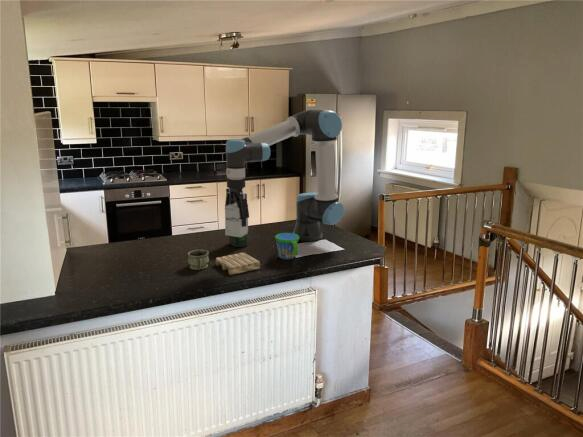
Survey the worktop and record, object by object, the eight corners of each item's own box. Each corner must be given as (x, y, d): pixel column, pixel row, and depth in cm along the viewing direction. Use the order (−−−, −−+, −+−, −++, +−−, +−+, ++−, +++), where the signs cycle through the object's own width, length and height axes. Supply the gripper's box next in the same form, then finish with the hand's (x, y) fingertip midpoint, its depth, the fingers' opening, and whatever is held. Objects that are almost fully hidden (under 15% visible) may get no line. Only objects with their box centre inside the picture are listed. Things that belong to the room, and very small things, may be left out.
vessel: (211, 270, 195) (211, 256, 193) (190, 272, 192) (190, 258, 190) (206, 260, 205) (205, 247, 204) (186, 263, 202) (185, 249, 201)
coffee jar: (250, 245, 226) (249, 208, 221) (235, 248, 221) (235, 211, 216) (240, 240, 233) (240, 204, 228) (226, 243, 229) (225, 206, 224)
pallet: (244, 258, 208) (244, 252, 207) (260, 268, 197) (260, 261, 196) (215, 264, 201) (215, 258, 200) (230, 274, 189) (230, 268, 189)
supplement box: (224, 235, 193) (224, 206, 190) (233, 231, 200) (232, 202, 196) (240, 237, 190) (240, 208, 187) (248, 233, 197) (248, 204, 194)
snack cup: (305, 261, 206) (305, 239, 203) (283, 264, 201) (283, 242, 199) (290, 250, 219) (290, 230, 217) (269, 253, 215) (269, 232, 212)
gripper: (215, 174, 196) (217, 225, 201) (240, 183, 178) (241, 238, 184) (231, 173, 200) (232, 223, 206) (257, 181, 182) (258, 235, 188)
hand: (236, 230), depth 195 cm, fingers closed on supplement box, 10 cm apart
